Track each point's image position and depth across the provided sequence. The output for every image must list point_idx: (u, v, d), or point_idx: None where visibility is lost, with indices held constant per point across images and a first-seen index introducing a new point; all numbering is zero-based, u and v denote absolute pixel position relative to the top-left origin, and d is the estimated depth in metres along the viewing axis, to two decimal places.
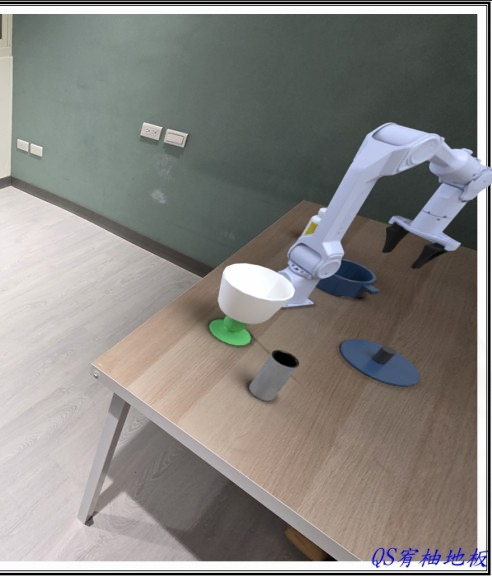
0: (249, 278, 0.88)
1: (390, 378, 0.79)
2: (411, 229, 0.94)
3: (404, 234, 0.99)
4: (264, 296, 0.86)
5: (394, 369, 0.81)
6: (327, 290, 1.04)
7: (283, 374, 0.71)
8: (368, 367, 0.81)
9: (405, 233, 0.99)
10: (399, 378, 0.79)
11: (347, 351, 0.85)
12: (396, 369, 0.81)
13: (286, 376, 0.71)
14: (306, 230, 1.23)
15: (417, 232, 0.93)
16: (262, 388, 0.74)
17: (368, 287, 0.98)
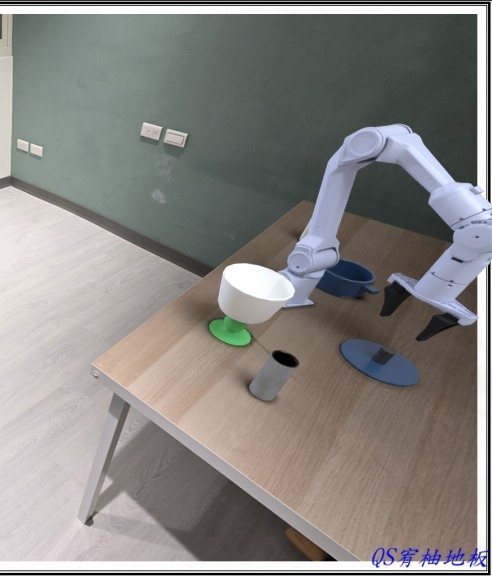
0: (249, 278, 0.88)
1: (390, 378, 0.79)
2: (415, 294, 0.75)
3: (406, 296, 0.80)
4: (264, 296, 0.86)
5: (394, 369, 0.81)
6: (327, 290, 1.04)
7: (283, 374, 0.71)
8: (368, 367, 0.81)
9: (408, 295, 0.80)
10: (399, 378, 0.79)
11: (347, 351, 0.85)
12: (396, 369, 0.81)
13: (286, 376, 0.71)
14: (306, 230, 1.23)
15: (423, 298, 0.74)
16: (262, 388, 0.74)
17: (368, 287, 0.98)
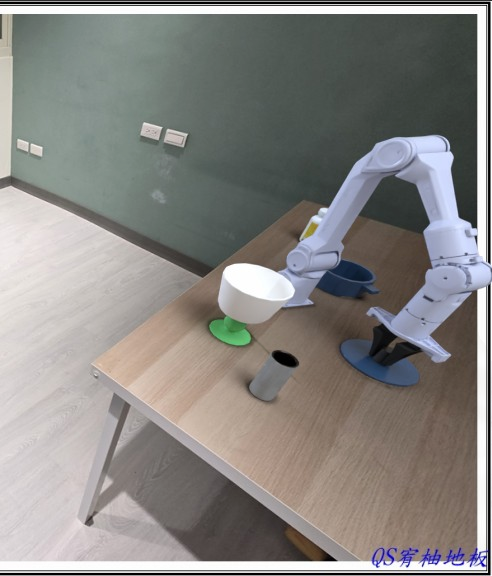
0: (249, 278, 0.88)
1: (390, 378, 0.79)
2: (392, 329, 0.77)
3: (395, 336, 0.81)
4: (264, 296, 0.86)
5: (394, 369, 0.81)
6: (327, 290, 1.04)
7: (283, 374, 0.71)
8: (368, 367, 0.81)
9: (397, 335, 0.80)
10: (399, 378, 0.79)
11: (347, 351, 0.85)
12: (396, 369, 0.81)
13: (286, 376, 0.71)
14: (306, 230, 1.23)
15: (399, 334, 0.76)
16: (262, 388, 0.74)
17: (368, 287, 0.98)
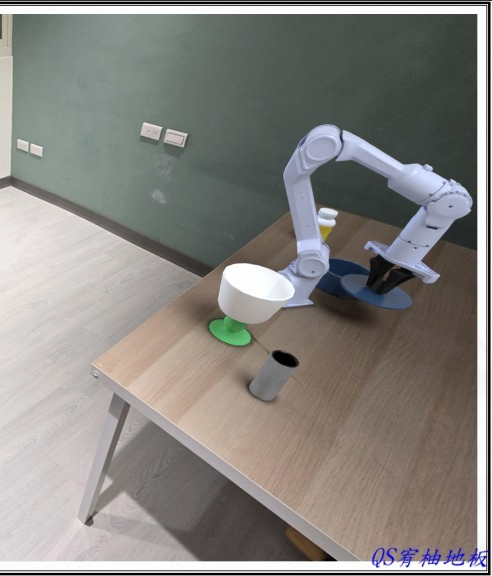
0: (249, 278, 0.88)
1: (385, 303, 0.86)
2: (387, 257, 0.85)
3: (390, 266, 0.88)
4: (264, 296, 0.86)
5: (389, 296, 0.88)
6: (327, 290, 1.04)
7: (283, 374, 0.71)
8: (365, 295, 0.88)
9: (391, 265, 0.88)
10: (393, 303, 0.86)
11: (346, 283, 0.92)
12: (391, 297, 0.88)
13: (286, 376, 0.71)
14: None
15: (393, 261, 0.83)
16: (262, 388, 0.74)
17: None
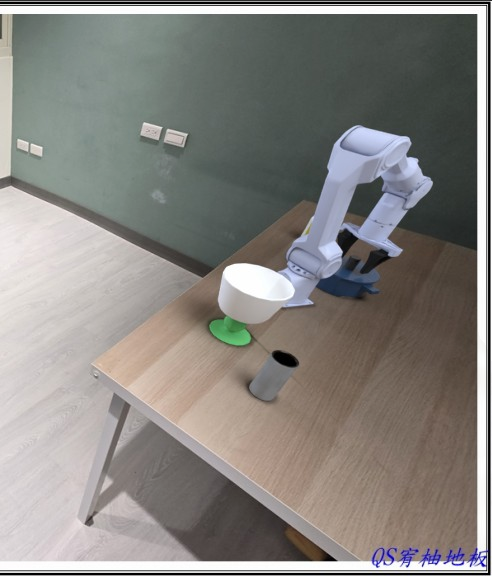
0: (249, 278, 0.88)
1: (356, 278, 0.99)
2: (358, 236, 0.97)
3: (354, 240, 1.02)
4: (264, 296, 0.86)
5: (360, 273, 1.01)
6: (327, 290, 1.04)
7: (283, 374, 0.71)
8: (339, 272, 1.02)
9: (355, 239, 1.02)
10: (363, 278, 0.99)
11: None
12: None
13: (286, 376, 0.71)
14: (306, 230, 1.23)
15: (363, 238, 0.96)
16: (262, 388, 0.74)
17: (368, 287, 0.98)
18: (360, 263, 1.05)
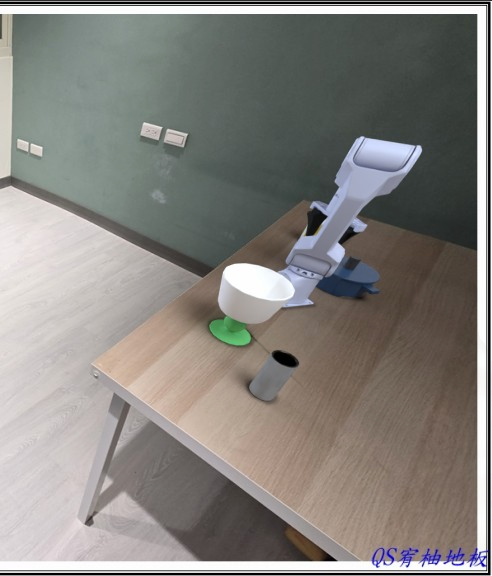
0: (249, 278, 0.88)
1: (356, 278, 0.99)
2: (326, 213, 1.00)
3: (323, 218, 1.05)
4: (264, 296, 0.86)
5: (360, 273, 1.01)
6: (327, 290, 1.04)
7: (283, 374, 0.71)
8: (339, 272, 1.02)
9: (325, 217, 1.05)
10: (363, 278, 0.99)
11: None
12: (362, 273, 1.01)
13: (286, 376, 0.71)
14: None
15: None
16: (262, 388, 0.74)
17: (368, 287, 0.98)
18: (360, 263, 1.05)
